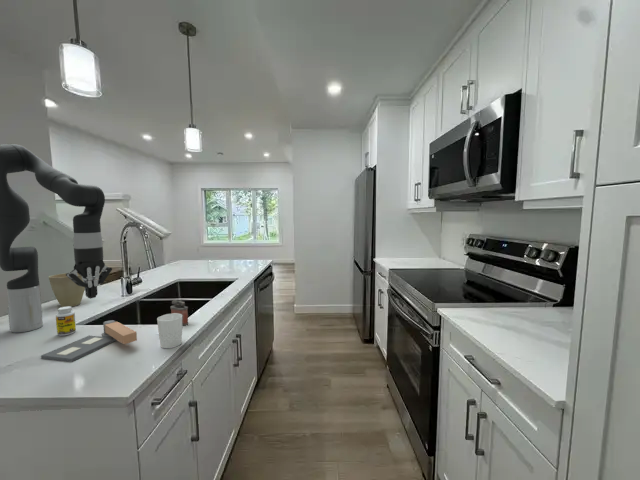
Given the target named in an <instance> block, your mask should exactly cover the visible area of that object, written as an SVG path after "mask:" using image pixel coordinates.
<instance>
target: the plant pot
mask: <svg viewBox="0 0 640 480" xmlns="http://www.w3.org/2000/svg"><path fill="white" fill-rule="evenodd" d="M67 273H68V272H63V273H59V274H53V275H49V276H48V280H49V283H50V287H51V290H52V293H53V294H54V297H55V299H56V300H57V302H58V304H59V305H60V308H61V307H67V306H71V307H76V306H79V305H80V304H81V302H82V301H83V297H84V294H85V287H81V286H78V285H77V284H76V283H74V282H73V281H72V280H71V279H69V278H68V277H67V276H66V274H67ZM77 274H78V273H77ZM77 277H78V278H79V279H81V280H82V276H81V275H79V274H78V276H77ZM82 281H83V280H82Z"/></svg>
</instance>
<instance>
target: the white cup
mask: <svg viewBox="0 0 640 480" xmlns="http://www.w3.org/2000/svg"><path fill="white" fill-rule="evenodd" d="M156 321H157V330H158V337H159V338H158V339H159V343H160V344H159V345H160V348H162V349H173V348H176V347H178V346H180V345H181V344H182V343H183V341H182V340H183V338H182V335H183V326H182V314H178V313H173V314H171V313H166V314H163V315H161V316H158V317H157V318H156Z"/></svg>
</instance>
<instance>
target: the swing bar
mask: <svg viewBox="0 0 640 480" xmlns="http://www.w3.org/2000/svg"><path fill="white" fill-rule="evenodd" d="M102 324H103V333H104V334H108V335H110V336H111V337H113V338H115V339H116V341H117V342H119V343H121V344H123V345H126V344H130V343H133V342H136V341H138V337H137V331H135V330H134V329H131V328H130V327H128V326H126V325H125V324H123V323H121V322H118V321H116V320H113V319H112V320H106V321H103V322H102Z"/></svg>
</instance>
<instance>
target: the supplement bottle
mask: <svg viewBox="0 0 640 480" xmlns="http://www.w3.org/2000/svg"><path fill="white" fill-rule="evenodd" d="M72 307H73V306H72ZM72 307H71V306H67V307H61V306H60V307H59V308H58V309H57V313H56V314H55V324H56V325H55V326H56V335H57V336H59V337H60V336H61V337H62V336H69V335H72V334H74V333H75V332H76V330H77V329H76V326H77V325H76V315H75V311H74V310H72Z"/></svg>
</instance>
